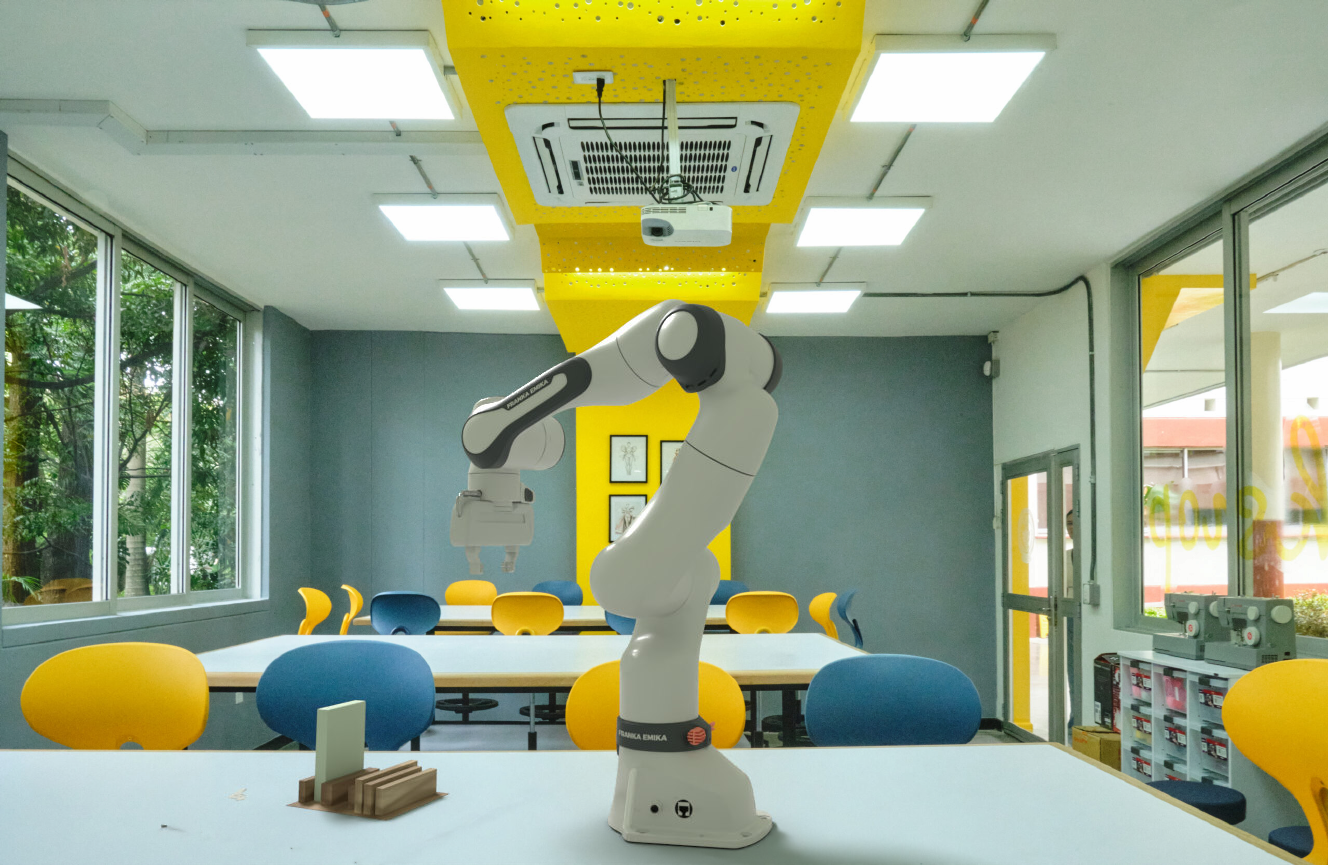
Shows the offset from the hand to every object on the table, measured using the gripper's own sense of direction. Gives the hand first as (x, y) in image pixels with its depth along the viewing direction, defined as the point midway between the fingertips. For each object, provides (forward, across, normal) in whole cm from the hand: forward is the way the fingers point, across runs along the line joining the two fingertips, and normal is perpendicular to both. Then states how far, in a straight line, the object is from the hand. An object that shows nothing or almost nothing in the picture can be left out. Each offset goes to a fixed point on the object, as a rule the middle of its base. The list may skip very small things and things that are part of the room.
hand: (492, 573), depth 156 cm
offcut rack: (+33, -22, +6) cm, 40 cm away
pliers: (+34, -31, +24) cm, 52 cm away
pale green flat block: (+32, -22, +12) cm, 40 cm away
